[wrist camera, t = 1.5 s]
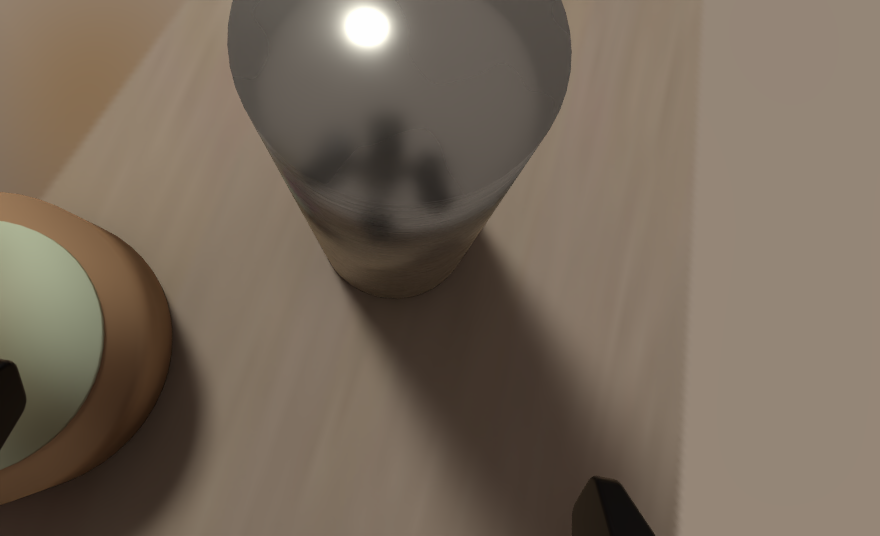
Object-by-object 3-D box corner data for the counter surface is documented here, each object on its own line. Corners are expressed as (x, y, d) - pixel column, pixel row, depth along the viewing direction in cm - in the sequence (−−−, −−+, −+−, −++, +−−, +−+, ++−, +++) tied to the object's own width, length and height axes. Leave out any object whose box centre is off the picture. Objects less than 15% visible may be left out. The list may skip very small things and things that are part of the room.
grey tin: (431, 323, 22) (492, 262, 9) (292, 259, 22) (160, 108, 9) (491, 191, 23) (619, -25, 10) (360, 130, 23) (325, -162, 10)
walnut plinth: (81, 540, 20) (22, 573, 16) (-183, 420, 19) (-292, 430, 16) (221, 283, 22) (192, 268, 18) (-18, 173, 21) (-87, 139, 18)
